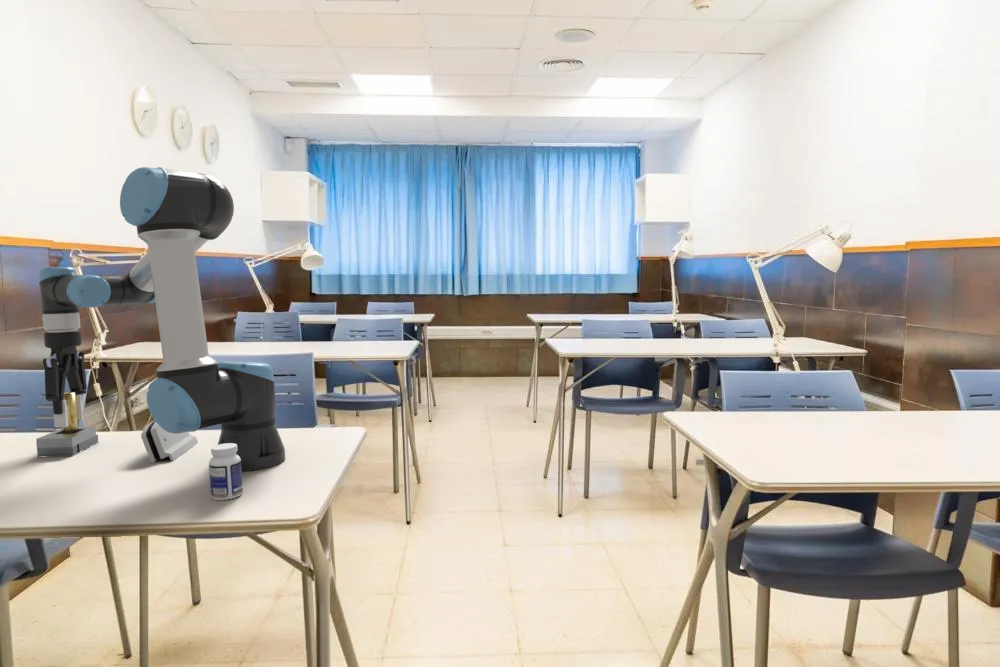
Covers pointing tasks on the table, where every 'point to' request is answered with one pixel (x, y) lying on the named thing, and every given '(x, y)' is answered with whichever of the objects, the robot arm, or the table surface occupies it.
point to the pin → (71, 413)
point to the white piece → (165, 442)
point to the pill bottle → (225, 472)
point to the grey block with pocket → (66, 442)
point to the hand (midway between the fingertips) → (69, 423)
